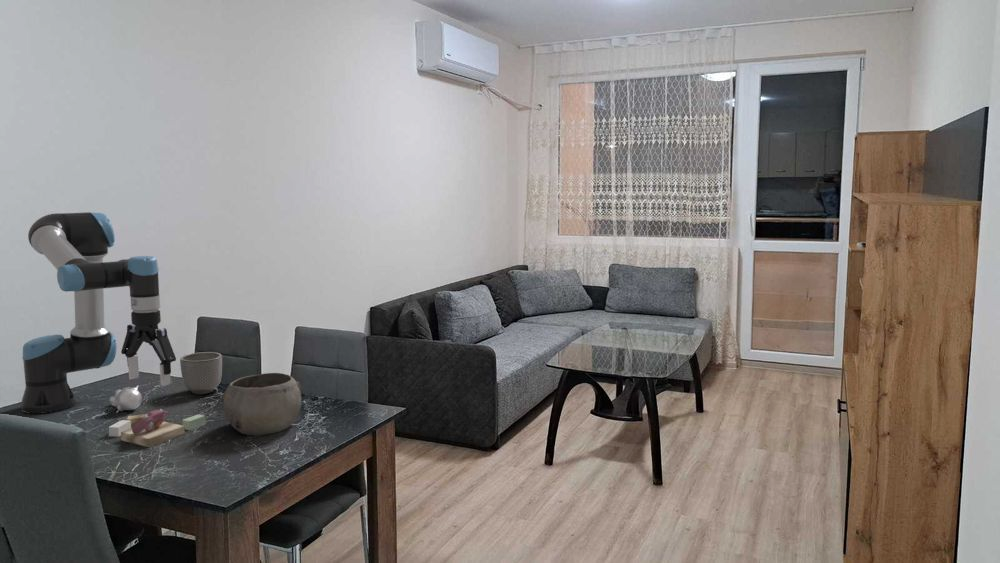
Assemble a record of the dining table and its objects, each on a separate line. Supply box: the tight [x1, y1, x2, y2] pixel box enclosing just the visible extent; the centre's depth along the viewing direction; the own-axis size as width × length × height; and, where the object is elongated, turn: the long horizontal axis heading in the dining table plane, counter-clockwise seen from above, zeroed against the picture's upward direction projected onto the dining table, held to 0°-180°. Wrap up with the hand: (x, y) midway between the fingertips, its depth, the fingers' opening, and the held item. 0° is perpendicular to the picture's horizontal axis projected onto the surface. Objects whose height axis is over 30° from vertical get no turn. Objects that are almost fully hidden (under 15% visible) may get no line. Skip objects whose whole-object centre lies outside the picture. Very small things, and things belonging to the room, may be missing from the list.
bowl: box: [221, 372, 302, 436], centre depth 218 cm, size 23×23×15 cm
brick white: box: [108, 419, 131, 438], centre depth 212 cm, size 6×3×3 cm, turn 175°
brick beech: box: [126, 413, 148, 428], centre depth 219 cm, size 6×3×3 cm, turn 113°
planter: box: [179, 351, 223, 395], centre depth 253 cm, size 14×14×13 cm
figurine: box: [109, 385, 143, 413], centre depth 235 cm, size 11×7×15 cm
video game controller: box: [132, 408, 170, 434], centre depth 208 cm, size 10×5×7 cm, turn 164°
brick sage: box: [181, 414, 206, 431], centre depth 218 cm, size 6×3×3 cm, turn 154°
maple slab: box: [120, 421, 186, 448], centre depth 209 cm, size 12×12×2 cm
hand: (149, 381), depth 207 cm, fingers open, 13 cm apart
